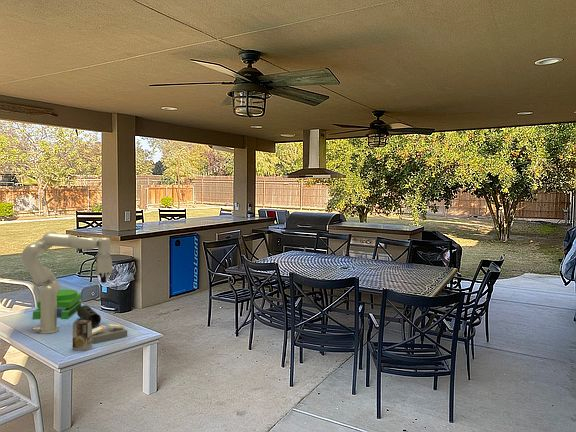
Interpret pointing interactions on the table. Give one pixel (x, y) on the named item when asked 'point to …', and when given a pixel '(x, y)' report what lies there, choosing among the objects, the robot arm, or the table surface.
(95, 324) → the muzzle brake
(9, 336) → the table surface
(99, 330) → the block
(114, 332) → the switch block
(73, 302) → the tank
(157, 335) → the table surface
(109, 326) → the far rocker
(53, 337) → the table surface
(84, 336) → the coffee box
